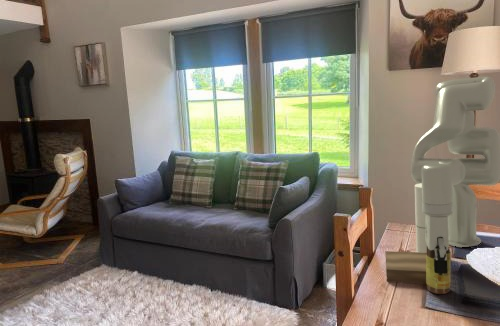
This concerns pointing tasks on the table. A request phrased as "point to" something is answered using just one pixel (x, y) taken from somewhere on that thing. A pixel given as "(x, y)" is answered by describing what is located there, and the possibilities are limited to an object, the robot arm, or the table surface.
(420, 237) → the cylindrical container
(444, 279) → the sauce bottle
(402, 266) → the walnut plinth
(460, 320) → the table surface
